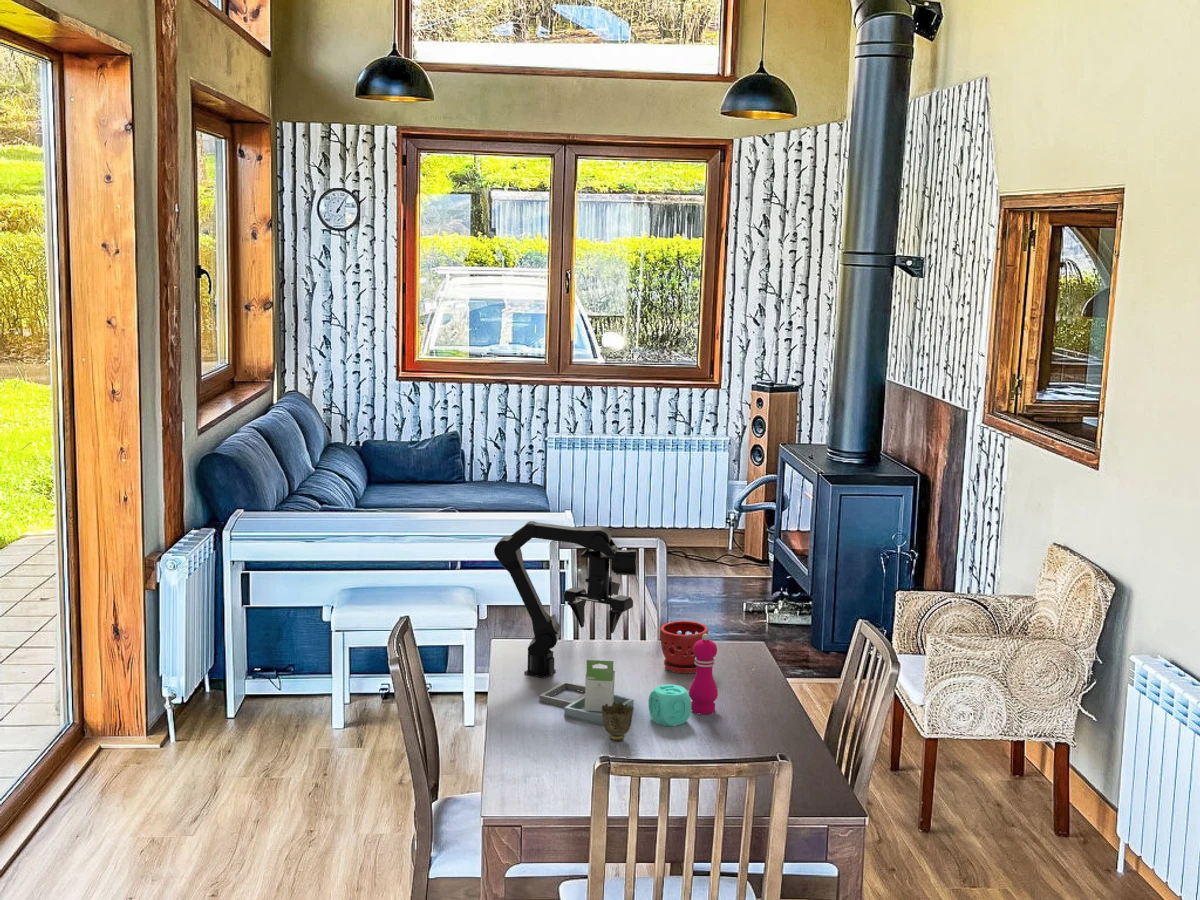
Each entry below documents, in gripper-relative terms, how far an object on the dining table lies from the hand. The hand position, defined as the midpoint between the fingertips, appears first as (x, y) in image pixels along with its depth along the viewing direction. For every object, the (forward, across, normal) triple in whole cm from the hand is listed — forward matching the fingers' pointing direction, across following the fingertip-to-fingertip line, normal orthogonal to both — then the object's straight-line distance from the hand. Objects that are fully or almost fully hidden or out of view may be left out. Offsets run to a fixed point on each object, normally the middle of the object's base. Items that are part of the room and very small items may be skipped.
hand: (597, 630), depth 343 cm
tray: (+13, -14, +23) cm, 30 cm away
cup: (+13, -26, +36) cm, 46 cm away
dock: (+13, -2, +18) cm, 22 cm away
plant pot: (+13, -17, -19) cm, 29 cm away
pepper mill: (+13, -35, +7) cm, 38 cm away
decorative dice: (+13, -31, +18) cm, 38 cm away
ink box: (+12, -14, +23) cm, 30 cm away
